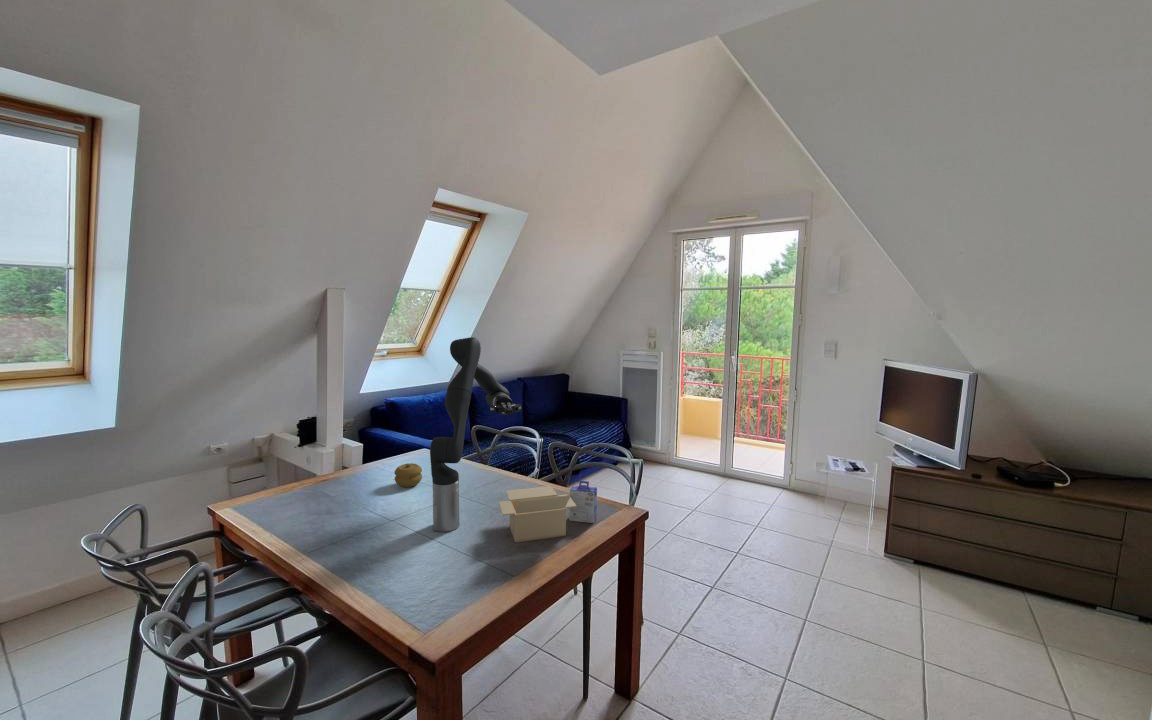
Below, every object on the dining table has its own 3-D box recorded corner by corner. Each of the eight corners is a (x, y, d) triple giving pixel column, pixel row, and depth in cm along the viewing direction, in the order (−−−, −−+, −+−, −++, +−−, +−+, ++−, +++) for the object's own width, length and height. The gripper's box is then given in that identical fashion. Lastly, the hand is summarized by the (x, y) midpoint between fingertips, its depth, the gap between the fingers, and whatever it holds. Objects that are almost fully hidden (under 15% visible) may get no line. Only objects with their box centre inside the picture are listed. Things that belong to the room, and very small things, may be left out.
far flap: (516, 512, 160) (516, 513, 160) (519, 500, 153) (519, 501, 153) (564, 506, 165) (565, 507, 165) (570, 495, 158) (570, 496, 158)
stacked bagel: (416, 490, 206) (416, 468, 205) (390, 489, 206) (389, 467, 205) (426, 480, 217) (425, 459, 216) (400, 480, 218) (400, 459, 217)
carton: (503, 544, 160) (503, 515, 158) (495, 518, 180) (495, 491, 178) (576, 534, 167) (577, 506, 166) (561, 510, 187) (561, 484, 186)
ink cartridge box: (597, 517, 181) (597, 481, 180) (594, 523, 176) (595, 486, 174) (572, 514, 183) (572, 478, 182) (568, 521, 178) (569, 484, 176)
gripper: (486, 395, 194) (491, 403, 177) (518, 394, 198) (526, 402, 181) (486, 413, 195) (492, 423, 178) (518, 411, 199) (526, 421, 182)
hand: (509, 412), depth 180 cm, fingers closed
